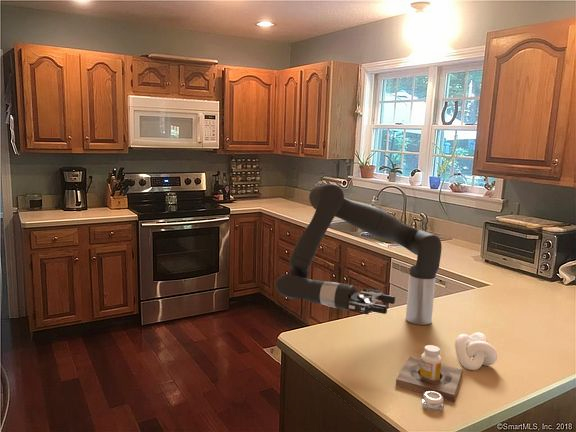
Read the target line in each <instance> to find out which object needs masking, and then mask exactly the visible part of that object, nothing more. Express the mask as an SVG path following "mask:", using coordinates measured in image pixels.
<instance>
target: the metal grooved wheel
mask: <svg viewBox="0 0 576 432" xmlns="http://www.w3.org/2000/svg"><path fill="white" fill-rule="evenodd" d="M444 401H445V399H444V398H443V396H442V395H441V394H439V393H438V392H435V391H427V392H425V393H424V394H423V393H422V401H421V405H422V407H423V409H424V410H427V411H429V412H435V413H437V412H441V411H443V408H444Z"/></svg>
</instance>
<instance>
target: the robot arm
mask: <svg viewBox="0 0 576 432" xmlns="http://www.w3.org/2000/svg"><path fill="white" fill-rule="evenodd" d="M309 192H310V193H309V195H308V196H309V197H308V199H309V203H310V205H311V207H312V208H313V209H315V211H314V213H313V216H312V218H311V221H310V222H309V224H308V225H307V227H306V228H305V229H304V230H303V232H302V234H301V235H300V237H299V238H298V240H297V242H296V243H295V246H294V248H293V251H292V253H291V255H290V257H289V260H288V265H289V266H290V269H289V273H284V274H281V275H279V276H278V278H276V280H275V283H274V287H275V290H276V292H277V293H278V294H279V295H281V296H282V297H284V298H287V299H289V300H296V299H301V300H305V301H306V302H310V303H314V304H319V305H324V306H326V307H330V308H333V309H340V310H345V311H349V312H355V313H359V314H363V315H369V313H370V314H371V313H378V314H384V315H386V314H387V313H388V306H387V305H383V304H378V303H385V304H390V305H393V304H395V303H396V296H394V295H388V294H384V293H383V290H380V289H379V290H378V289H374V288H362V290H361V291H357V287H356V286H355V285H353V284H349V283H341V282H336V281H325V280H318V279H310V278H308V277H309V276H308V275H309V270H310V267H311V265H312V263H313V261H314V259H315V256H316V253H317V252H318V249H319V246H320V244H321V242H322V240H323V238H324V236H325V234H326V232H327V230H328V229H329V227H330V225H331V223H332V222H333V220H334V219H335V218H338V219H341V220H342V221H345V222H347V223H348V224H351V225H352V226H354V227H356V228H357V229H359V230H361V231H364V232H366V233H367V234H370V235H372V236H374V237H376V238H379V239H383V240H385V241H388V242H389V241H390V242H394V243H396V244H398V245H400V246H401V247H404V248H405V249H407V250H408V251H409V252H410V253H413V254H414V255H416V256H417V257H416V263H415V264H413V265H411V266H410V268H409V273H408V287H407V288H408V289H407V298H406V299H407V300H406V309H405V310H406V311H405V312H406V313H405V320H406V321H407V322H409V323H411V324H414V325H419V326H420V325H421V326H424V325H425V326H426V325H431V323H432V321H433V320H432V319H433V311H434V299H435V290H436V288H435V287H436V280H437V279H436V277H437V272H438V271H439V269H440V263H441V257H442V256H441V255H442V249H443V248H442V241H441V239H440V238H439V236H437V235H436V234H435V233H434V234H433V233H431V232H428V231H425V230H422V229H419V228H416V227H413V226H409V225H407V224H404V223H403V222H402V221H400V220H399V219H398V218H397V217H395V216H394V215H392V214H391V213H389V212H387V211H385V210H383V209H381V208H379V207H376V206H374V205H370V204H367V203H363V202H358V201H355V200H351V199H349V198H347V197H345V195H344V194H345V193H344V191H343V189H342V187H340V185H338V184H335V183H325V184H320V185H319V184H318V185H317V186H315V187H314V188H312V189H311V191H309Z"/></svg>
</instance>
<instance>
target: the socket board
mask: <svg viewBox="0 0 576 432" xmlns="http://www.w3.org/2000/svg"><path fill="white" fill-rule="evenodd" d="M420 364H421V358H418V357H413V356H410V355H409V356H408V358H407V360H406V362H405V363H404V365H403V366H402V368H401V370H400V372H399V373H398V375H397V377H396V379H395V386H396V387H399V388H403V389H405V390H409V391H414V392H416V393H420V394H422V395H423V394H424V393H425V392H427V391H435V392H438V393H439V394H441V395H442V396H443V398H444V401H449V402H452V403H455V399H456V396H457V394H458V393H457V392H458V389H459V386H460V383H461V379H462V377H463V369H462V368H458V367H454V366H450V365H445V364H442V363H441V370H440V380H428V379H425V378H423V377H421V376H420Z"/></svg>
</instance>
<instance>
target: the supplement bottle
mask: <svg viewBox="0 0 576 432" xmlns="http://www.w3.org/2000/svg"><path fill="white" fill-rule="evenodd" d="M440 350H441V349H440V348H439V347H438V346H436V345H433V344H427V345H425V346H424V349H423V353H422V354H421V356H420V359H421V364H420V376H421V377H423V378H425V379H428V380H440V370H441V364H442V357H441V355H440V353H441V351H440Z"/></svg>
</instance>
